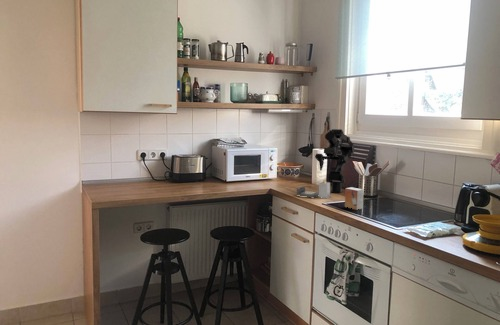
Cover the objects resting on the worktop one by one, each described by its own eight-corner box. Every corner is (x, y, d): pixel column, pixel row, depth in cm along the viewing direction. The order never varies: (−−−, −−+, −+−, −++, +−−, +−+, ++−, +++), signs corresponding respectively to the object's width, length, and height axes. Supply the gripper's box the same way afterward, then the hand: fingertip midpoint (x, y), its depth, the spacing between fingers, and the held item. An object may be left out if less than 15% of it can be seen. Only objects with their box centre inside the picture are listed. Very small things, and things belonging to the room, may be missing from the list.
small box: (344, 207, 223) (344, 188, 222) (350, 205, 227) (351, 186, 225) (356, 210, 217) (357, 190, 216) (363, 208, 221) (363, 189, 219)
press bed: (303, 193, 259) (303, 185, 259) (319, 195, 254) (319, 187, 253) (296, 196, 251) (296, 188, 250) (313, 198, 245) (313, 190, 245)
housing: (322, 196, 251) (322, 179, 250) (329, 197, 249) (330, 180, 247) (318, 197, 247) (318, 181, 246) (326, 198, 245) (326, 181, 243)
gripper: (314, 141, 253) (308, 164, 248) (344, 142, 243) (338, 166, 238) (320, 149, 261) (315, 171, 256) (349, 150, 251) (344, 174, 246)
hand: (327, 171), depth 249 cm, fingers open, 9 cm apart
